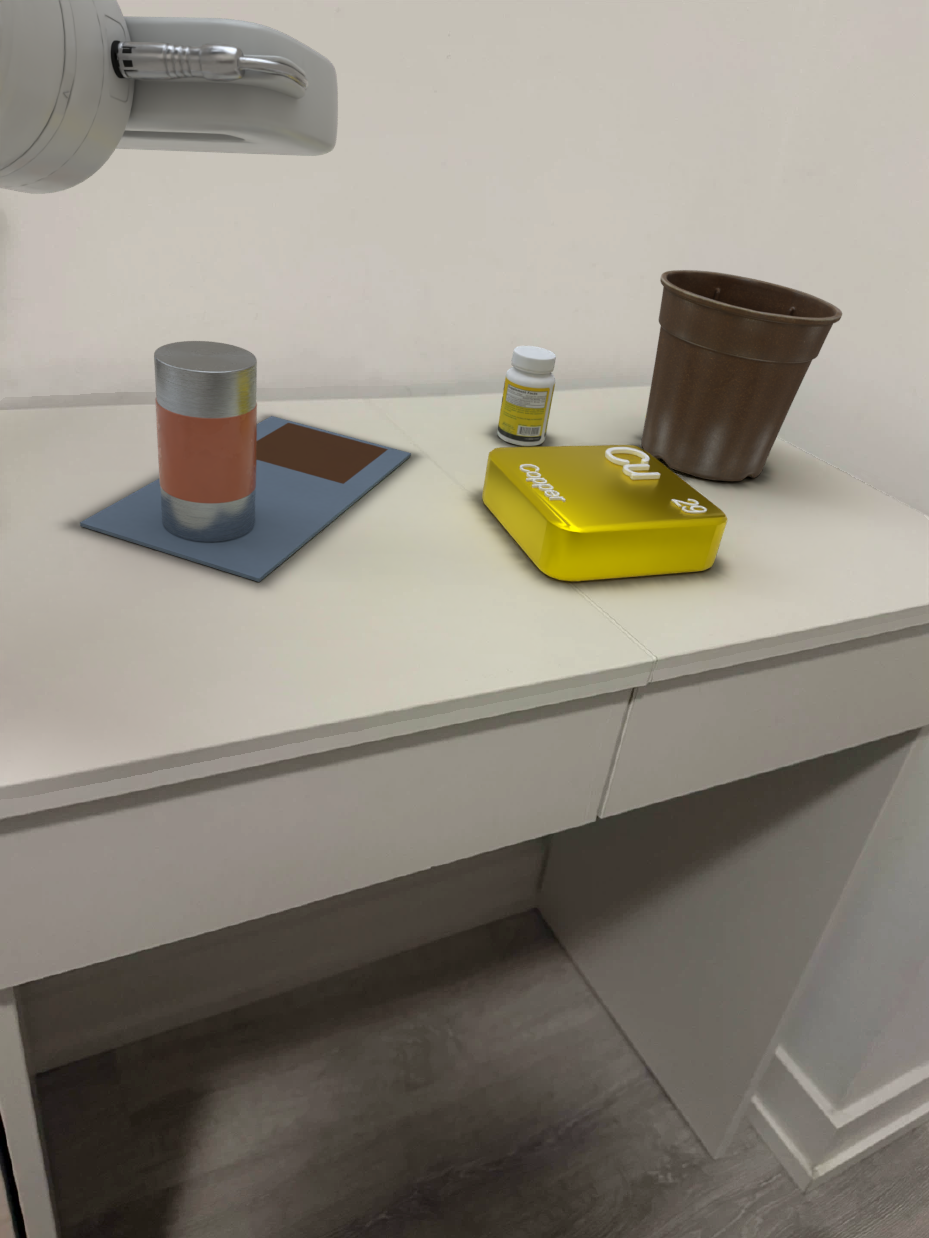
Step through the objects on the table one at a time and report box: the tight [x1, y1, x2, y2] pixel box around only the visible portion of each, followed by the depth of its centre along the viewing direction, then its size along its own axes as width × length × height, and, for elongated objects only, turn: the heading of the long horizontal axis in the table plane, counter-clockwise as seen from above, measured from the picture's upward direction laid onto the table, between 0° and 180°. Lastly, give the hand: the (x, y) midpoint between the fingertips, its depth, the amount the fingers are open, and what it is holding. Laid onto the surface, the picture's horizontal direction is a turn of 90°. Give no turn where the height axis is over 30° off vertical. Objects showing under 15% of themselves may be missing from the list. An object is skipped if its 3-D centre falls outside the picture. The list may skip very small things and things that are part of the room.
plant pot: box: [640, 269, 843, 482], centre depth 86 cm, size 16×16×16 cm
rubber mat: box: [79, 415, 412, 583], centre depth 72 cm, size 14×26×1 cm, turn 160°
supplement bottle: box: [496, 345, 557, 447], centre depth 86 cm, size 5×5×8 cm
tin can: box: [153, 340, 258, 542], centre depth 62 cm, size 6×6×12 cm
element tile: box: [481, 444, 728, 582], centre depth 72 cm, size 15×15×5 cm
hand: (174, 126), depth 45 cm, fingers open, 8 cm apart
